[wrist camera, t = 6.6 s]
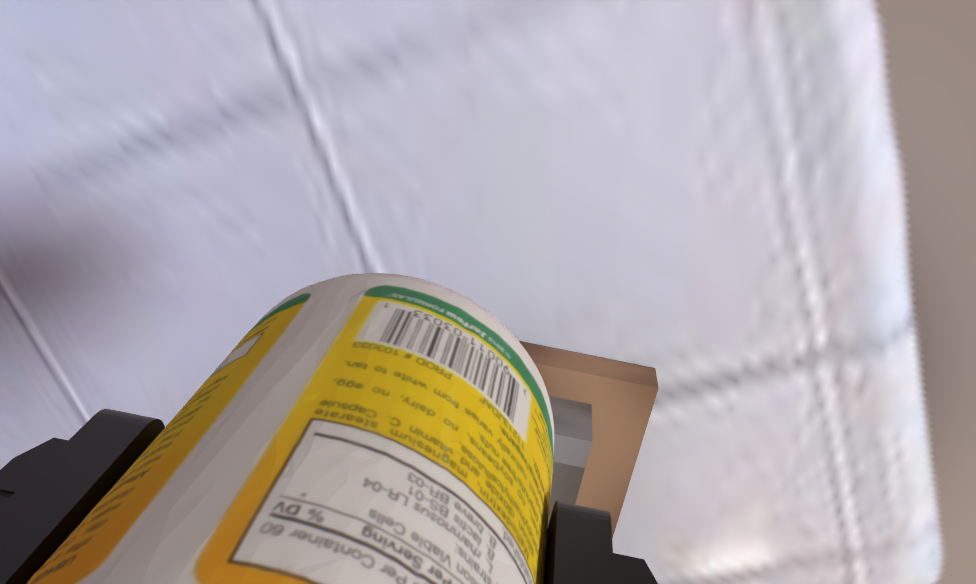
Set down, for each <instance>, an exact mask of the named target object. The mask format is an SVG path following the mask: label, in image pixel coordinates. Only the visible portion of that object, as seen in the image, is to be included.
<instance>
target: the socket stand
mask: <svg viewBox="0 0 976 584" xmlns="http://www.w3.org/2000/svg"><path fill="white" fill-rule="evenodd" d="M519 342H520V343H521V345H522V346H523V347H524V349H525V350H526V351H527V353H528V354H529V356H530V357H531V359H532V360H533V362H534V364H535V365H536V367H537V369H538V371H539V373H540V375H541V377H542V379H543V382H544V384H545V387H546V389H547V393H548V396H549V400H550V405H551V409H552V414H553V421H554V465H553V475H552V485H551V498H550V510H549V520H548V525H549V521H550V517H551V513H552V510H553V506H554V504H555V502H556V501H560V502H564V503H569V504H574V505H579V506H584V507H589V508H594V509H599V510H604V511H609V512H610V515H611V525H612V537H613V534H614V531H615V528H616V524H617V521H618V518H619V515H620V511H621V508H622V505H623V502H624V498H625V495H626V492H627V489H628V485H629V482H630V479H631V476H632V472H633V469H634V466H635V463H636V459H637V456H638V453H639V450H640V446H641V443H642V440H643V437H644V433H645V430H646V427H647V424H648V420H649V417H650V414H651V411H652V407H653V404H654V401H655V398H656V394H657V391H658V383H657V377H656V371H655V368H651V367H646V366H641V365H636V364H631V363H626V362H621V361H616V360H611V359H606V358H601V357H596V356H591V355H586V354H581V353H576V352H571V351H566V350H561V349H556V348H551V347H546V346H541V345H536V344H531V343H526V342H521V341H519Z"/></svg>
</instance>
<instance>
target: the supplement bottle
mask: <svg viewBox="0 0 976 584" xmlns="http://www.w3.org/2000/svg"><path fill="white" fill-rule="evenodd" d="M553 465H554V421H553V414H552V409H551V405H550V400H549V396H548V393H547V389H546V387H545V384H544V382H543V379H542V377H541V375H540V373H539V371H538V369H537V367H536V365H535V364H534V362H533V360H532V359H531V357H530V356H529V354H528V353H527V351H526V350H525V349H524V347H523V346H522V345H521V343H520V342H519V341H518V339H517V338H516V337H515V336H514V335H513V334H512V333H511V332H510V331H509V330H508V329H507V328H506V327H505V326H504V325H503V324H502V323H501V322H500V321H499V320H498V319H497V318H496V317H495V316H493V315H492V314H491V313H489V312H488V311H487V310H485V309H484V308H482V307H481V306H479V305H478V304H477V303H475V302H474V301H472V300H470V299H468V298H467V297H465V296H463V295H461V294H459V293H457V292H455V291H453V290H450V289H448V288H445V287H443V286H440V285H438V284H435V283H432V282H429V281H426V280H423V279H419V278H414V277H408V276H403V275H396V274H382V273H366V274H352V275H345V276H340V277H336V278H332V279H329V280H325V281H322V282H319V283H316V284H313V285H310V286H307V287H305V288H303V289H301V290H299V291H297V292H295V293H294V294H292V295H290V296H288V297H287V298H285V299H284V300H283V301H281V302H280V303H279V304H278V305H276V306H275V307H274V308H272V309H271V310H270V311H269V312H268V313H267V314H265V315H264V316H263V317H262V319H261V320H260V321H259V322H258V323H257V324H256V325H255V326H254V327H253V328H252V329H251V330H250V331H249V332H248V334H247V335H246V336H245V337H244V338H243V339H242V340H241V341H240V343H239V344H238V345H237V346H236V347H235V348H234V350H233V351H232V352H231V353H230V354H229V355H228V357H227V358H226V359H225V360H224V361H223V362H222V363H221V364H220V366H219V367H218V368H217V369H216V370H215V371H214V372H213V374H212V375H211V376H210V377H209V378H208V379H207V380H206V381H205V383H204V384H203V385H202V386H201V387H200V388H199V389H198V391H197V392H196V393H195V394H194V395H193V396H192V398H191V399H190V400H189V401H188V402H187V404H186V405H185V406H184V407H183V408H182V409H181V410H180V411H179V413H178V414H177V415H176V416H175V417H174V418H173V419H172V420H171V422H170V423H169V424H168V425H167V426H166V427H165V428H164V429H163V431H162V432H161V433H160V434H159V435H158V436H157V437H156V438H155V440H154V441H153V442H152V443H151V444H150V445H149V446H148V448H147V449H146V450H145V451H144V452H143V453H142V454H141V455H140V457H139V458H138V459H137V460H136V461H135V462H134V463H133V465H132V466H131V467H130V468H129V469H128V470H127V471H126V473H125V474H124V475H123V476H122V477H121V478H120V479H119V481H118V482H117V483H116V484H115V485H114V486H113V488H112V489H111V490H110V491H109V492H108V493H107V494H106V495H105V496H104V497H103V498H102V499H101V500H100V501H99V502H98V504H97V505H96V506H95V507H94V508H93V509H92V510H91V511H90V513H89V514H88V515H87V516H86V517H85V518H84V520H83V521H82V522H81V523H80V524H79V525H78V527H77V528H76V529H75V530H74V531H73V532H72V533H71V534H70V535H69V536H68V537H67V539H66V540H65V541H64V542H63V543H62V544H61V546H60V547H59V548H58V549H57V550H56V551H55V552H54V553H53V555H52V556H51V557H50V558H49V559H48V560H47V561H46V562H45V563H44V565H43V566H42V567H41V568H40V569H39V570H38V571H37V572H36V573H35V574H34V575H33V576H32V577H31V579H30V580H29V581H28V583H27V584H543V583H544V570H545V557H546V547H547V530H548V520H549V510H550V498H551V485H552V475H553Z"/></svg>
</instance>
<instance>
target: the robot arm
mask: <svg viewBox="0 0 976 584" xmlns="http://www.w3.org/2000/svg"><path fill="white" fill-rule="evenodd" d="M164 428H165V426H164V424H163V422H162V421H161V420H159V419H155V418H150V417H145V416H140V415H135V414H130V413H126V412H121V411H116V410H111V409H103V410H101V411H99V412H98V413H96V414H95V415H94V416H93V417H92V418H91V419H90V420H89V421H88V422H87V423H86V424H85V425H84V426H83V427H82V428H81V429H80V430H79V431H78V432H77V433H76V434H75V435H74V436H73V437H72V438H71V439H70V440H69V441H68V440H63V439H58V438H53V439H51V440H49V441H47V442H45V443H43V444H41V445H39V446H37V447H35V448H33V449H31V450H29V451H27V452H25V453H23V454H21V455H19V456H17V457H15V458H13V459H12V460H11V461H10V462H9V463H8V464H7V465H5V466H4V467H3V468H2V469H1V470H0V584H27V583H28V581H29V580H30V579H31V577H32V576H33V575H34V574H35V573H36V572H37V571H38V570H39V569H40V568H41V567H42V566H43V565H44V563H45V562H46V561H47V560H48V559H49V558H50V557H51V556H52V555H53V553H54V552H55V551H56V550H57V549H58V548H59V547H60V546H61V544H62V543H63V542H64V541H65V540H66V539H67V537H68V536H69V535H70V534H71V533H72V532H73V531H74V530H75V529H76V528H77V527H78V525H79V524H80V523H81V522H82V521H83V520H84V518H85V517H86V516H87V515H88V514H89V513H90V511H91V510H92V509H93V508H94V507H95V506H96V505H97V504H98V502H99V501H100V500H101V499H102V498H103V497H104V496H105V495H106V494H107V493H108V492H109V491H110V490H111V489H112V488H113V486H114V485H115V484H116V483H117V482H118V481H119V479H120V478H121V477H122V476H123V475H124V474H125V473H126V471H127V470H128V469H129V468H130V467H131V466H132V465H133V463H134V462H135V461H136V460H137V459H138V458H139V457H140V455H141V454H142V453H143V452H144V451H145V450H146V449H147V448H148V446H149V445H150V444H151V443H152V442H153V441H154V440H155V438H156V437H157V436H158V435H159V434H160V433H161V432H162V431H163V429H164ZM543 584H658V583H657V581H656V580H655V578H654V576H653V574H652V573H651V571H650V569H649V567H648V566H647V564H646V562H645V560H644V559H639V558H634V557H629V556H624V555H620V554H615V553H613V548H612V525H611V515H610V512H609V511H604V510H599V509H594V508H589V507H584V506H579V505H574V504H569V503H564V502H560V501H556V502H555V504H554V506H553V510H552V513H551V517H550V521H549V525H548V530H547V547H546V557H545V570H544V583H543Z"/></svg>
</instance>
